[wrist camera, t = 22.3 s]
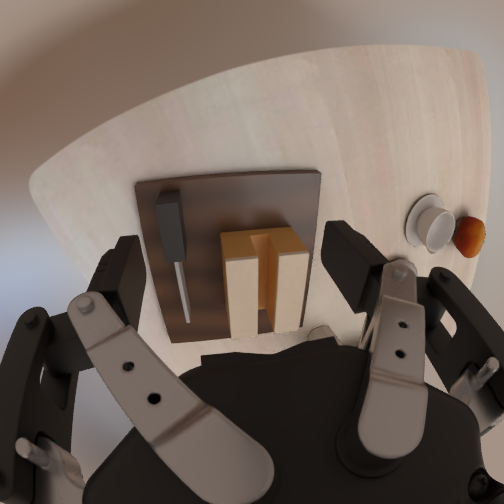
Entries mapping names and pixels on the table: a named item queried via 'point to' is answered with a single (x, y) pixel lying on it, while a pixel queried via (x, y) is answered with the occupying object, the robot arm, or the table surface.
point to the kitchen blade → (173, 238)
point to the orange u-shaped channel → (263, 279)
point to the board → (209, 242)
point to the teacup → (430, 224)
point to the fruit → (469, 236)
